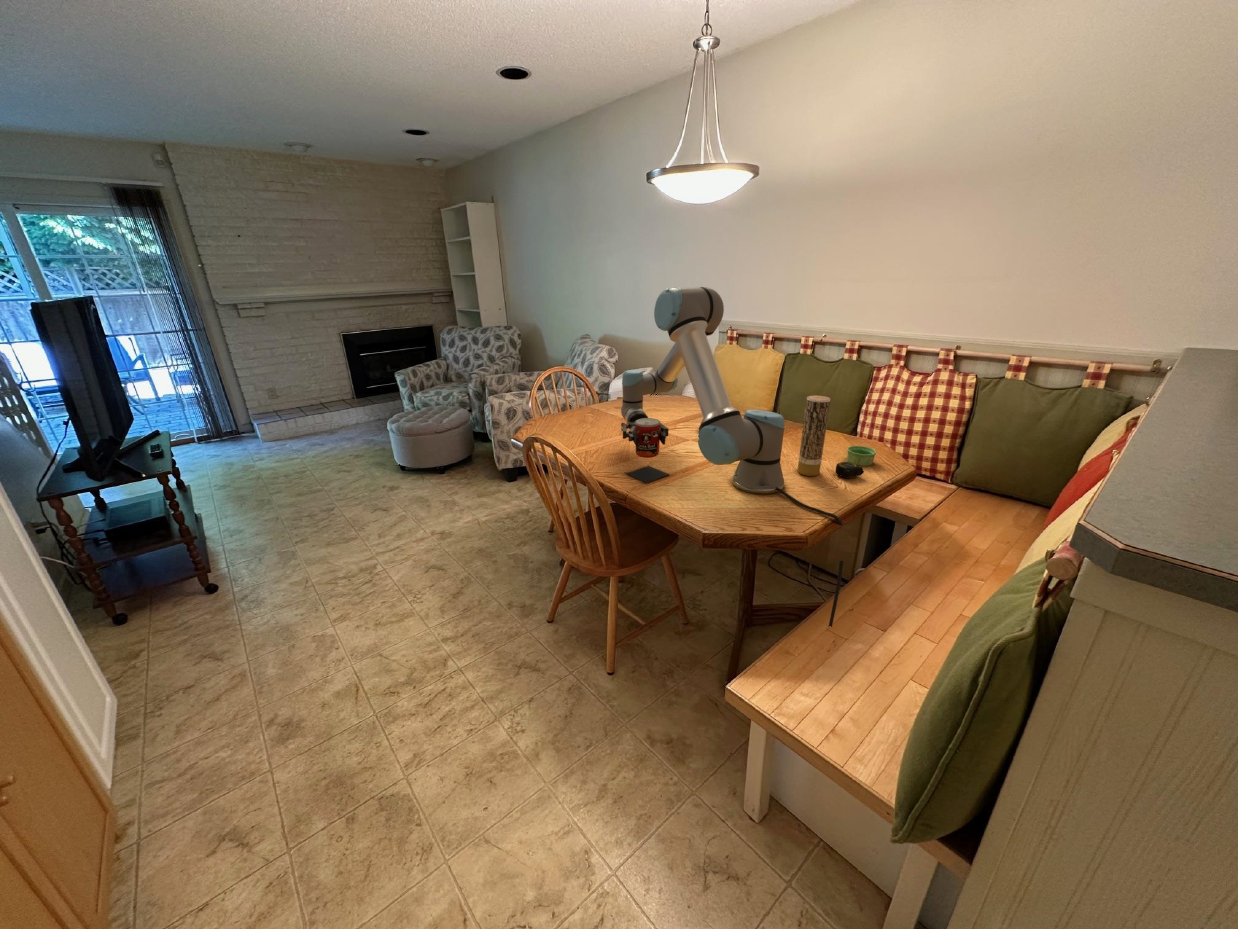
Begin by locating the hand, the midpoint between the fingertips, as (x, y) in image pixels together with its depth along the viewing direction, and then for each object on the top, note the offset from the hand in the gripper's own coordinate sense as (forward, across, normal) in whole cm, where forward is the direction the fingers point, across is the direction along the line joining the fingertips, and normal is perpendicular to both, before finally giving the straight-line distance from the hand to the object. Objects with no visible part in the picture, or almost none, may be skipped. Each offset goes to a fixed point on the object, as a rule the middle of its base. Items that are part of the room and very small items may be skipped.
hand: (650, 441), depth 148 cm
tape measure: (+9, -63, -13) cm, 65 cm away
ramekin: (-2, -74, -13) cm, 75 cm away
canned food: (-5, 0, -6) cm, 8 cm away
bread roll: (-45, -36, -14) cm, 59 cm away
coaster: (-5, 0, -13) cm, 14 cm away
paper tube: (+3, -52, -13) cm, 54 cm away
